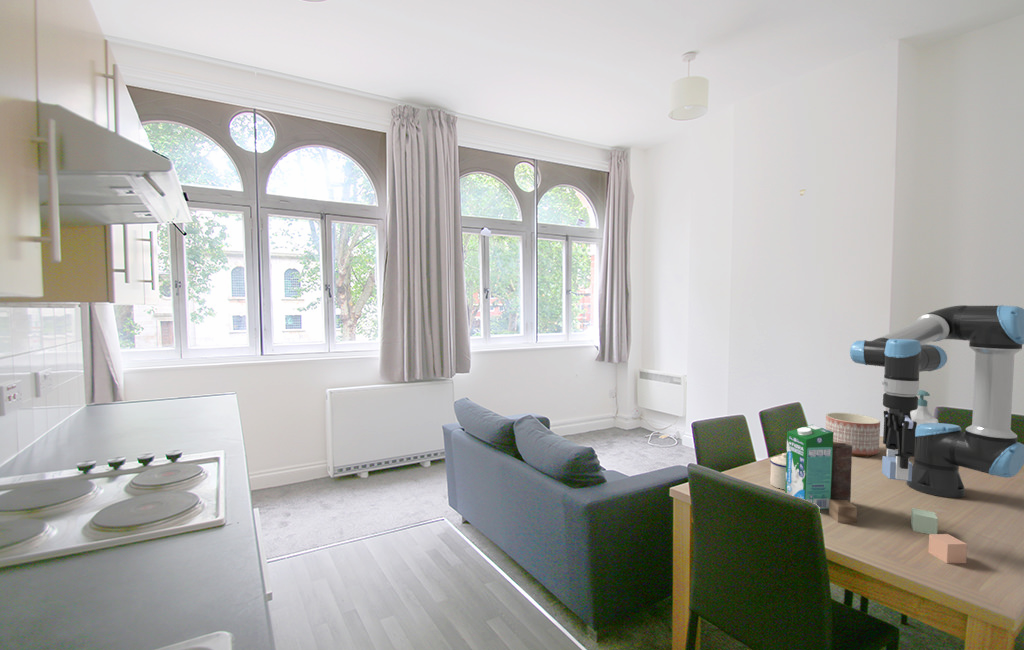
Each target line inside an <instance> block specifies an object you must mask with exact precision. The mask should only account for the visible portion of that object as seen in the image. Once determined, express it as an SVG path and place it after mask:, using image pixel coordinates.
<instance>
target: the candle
mask: <svg viewBox="0 0 1024 650" xmlns="http://www.w3.org/2000/svg"><path fill="white" fill-rule="evenodd" d="M852 457H853V455H852V445H851V444H846V443H838V442H833V456H832V482H831V499H834V500H848V501H849V502H850V503H851V498H852V497H851V494H852V492H851V491H852V463H853V462H852Z"/></svg>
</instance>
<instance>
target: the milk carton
mask: <svg viewBox="0 0 1024 650" xmlns="http://www.w3.org/2000/svg"><path fill="white" fill-rule="evenodd" d="M786 454H787V455H786V484H785V490H784V491H785V492H784V494H785V493H787V494H790V495H792V496H795V497H799V498H802V499H805V500H807V501H810V502H812V503H815V504H817V505H818V506H819V507H820V509H819V510H829V500H830V499H831V482H832V456H833V432H832V431H829V430H826V428H823V427H821V426H818V425H815V424H809V425H805V426H801V427H799V428H796V429H795V428H794V429H792V430H788V431H787V432H786Z"/></svg>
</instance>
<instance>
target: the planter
mask: <svg viewBox="0 0 1024 650" xmlns="http://www.w3.org/2000/svg"><path fill="white" fill-rule="evenodd" d="M825 429H826V430H829V431H832V432H833V442H838V443H846V444H851V445H852V457H853V456H854V457H871V456H873V455H877V454H879V453H880V434H881V420H880V419H878V418H875V417H873V416H868V415H864V414H863V415H862V414H858V413H851V412H828V413H826V415H825Z"/></svg>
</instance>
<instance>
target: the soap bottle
mask: <svg viewBox="0 0 1024 650" xmlns="http://www.w3.org/2000/svg"><path fill="white" fill-rule="evenodd" d="M917 396H919V398H918V408H917V410H912V411H910V415H911V421H914V422H917V425H919V424H923V423H939V419H937V418H935V416H933V415H932V413H930V411H929V408H928V401H927V399H924V397H930V393H929V392H927V391H926V390H923V389H919V394H918V395H917ZM916 427H917V426H916ZM915 431H916V430H915Z"/></svg>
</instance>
